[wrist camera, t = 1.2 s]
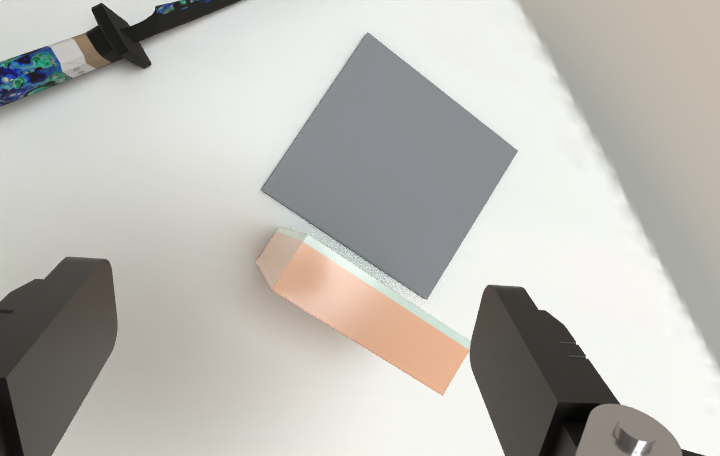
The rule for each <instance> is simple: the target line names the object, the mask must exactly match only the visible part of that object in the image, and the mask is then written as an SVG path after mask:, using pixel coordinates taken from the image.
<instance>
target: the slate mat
mask: <svg viewBox="0 0 720 456" xmlns="http://www.w3.org/2000/svg"><path fill="white" fill-rule="evenodd" d="M517 152H518V151H517V150H516V149H515V148H514V147H512V146H511V145H510V144H509V143H507V142H506V141H505V140H504V139H502V138H501V137H500V136H498V135H497V134H496V133H495V132H493V131H492V130H491V129H490V128H488V127H487V126H486V125H485V124H483V123H482V122H481V121H479V120H478V119H477V118H476V117H474V116H473V115H472V114H471V113H469V112H468V111H467V110H466V109H464V108H463V107H462V106H460V105H459V104H458V103H457V102H455V101H454V100H453V99H452V98H450V97H449V96H448V95H447V94H445V93H444V92H443V91H441V90H440V89H439V88H438V87H436V86H435V85H434V84H433V83H431V82H430V81H429V80H428V79H426V78H425V77H424V76H422V75H421V74H420V73H419V72H417V71H416V70H415V69H414V68H412V67H411V66H410V65H409V64H407V63H406V62H405V61H403V60H402V59H401V58H400V57H398V56H397V55H396V54H395V53H393V52H392V51H391V50H390V49H388V48H387V47H386V46H384V45H383V44H382V43H381V42H379V41H378V40H377V39H376V38H374V37H373V36H372V35H371V34H369V33H367V34H366V35H365V37H364V38H363V40H362V41H361V43H360V44H359V46H358V47H357V49H356V50H355V52H354V53H353V55H352V56H351V58H350V59H349V61H348V62H347V64H346V65H345V67H344V68H343V69H342V71H341V72H340V74H339V75H338V77H337V78H336V80H335V81H334V83H333V84H332V86H331V87H330V89H329V90H328V92H327V93H326V95H325V96H324V98H323V99H322V101H321V102H320V104H319V105H318V107H317V108H316V109H315V111H314V112H313V114H312V115H311V117H310V118H309V120H308V121H307V123H306V124H305V126H304V127H303V129H302V130H301V132H300V133H299V135H298V136H297V138H296V139H295V141H294V142H293V144H292V145H291V147H290V148H289V149H288V151H287V152H286V154H285V155H284V157H283V158H282V160H281V161H280V163H279V164H278V166H277V167H276V169H275V170H274V172H273V173H272V175H271V176H270V178H269V179H268V181H267V182H266V184H265V185H264V186H263V188H262V189H261V190H262V191H263V192H265V193H266V194H268V195H269V196H271V197H272V198H274V199H275V200H277V201H278V202H280V203H281V204H283V205H284V206H286V207H287V208H289V209H290V210H292V211H293V212H295V213H296V214H298V215H300V216H301V217H303V218H304V219H306V220H307V221H309V222H310V223H312V224H313V225H315V226H316V227H318V228H319V229H321V230H322V231H324V232H325V233H327V234H328V235H330V236H331V237H333V238H334V239H336V240H337V241H339V242H340V243H342V244H343V245H345V246H346V247H348V248H349V249H351V250H352V251H354V252H355V253H357V254H358V255H360V256H361V257H363V258H364V259H366V260H367V261H369V262H370V263H372V264H373V265H375V266H376V267H378V268H379V269H381V270H382V271H384V272H385V273H387V274H388V275H390V276H391V277H393V278H394V279H396V280H397V281H399V282H400V283H402V284H403V285H405V286H406V287H408V288H409V289H411V290H412V291H414V292H415V293H417V294H418V295H420V296H421V297H423V298H424V299H428V297H429V295H430V294H431V292H432V290H433V289H434V287H435V286H436V284H437V282H438V281H439V279H440V277H441V276H442V274H443V272H444V271H445V269H446V268H447V266H448V264H449V263H450V261H451V259H452V258H453V256H454V255H455V253H456V251H457V250H458V248H459V246H460V245H461V243H462V241H463V240H464V238H465V237H466V235H467V233H468V232H469V230H470V228H471V227H472V225H473V223H474V222H475V220H476V219H477V217H478V215H479V214H480V212H481V210H482V209H483V207H484V205H485V204H486V202H487V201H488V199H489V197H490V196H491V194H492V192H493V191H494V189H495V188H496V186H497V184H498V183H499V181H500V179H501V178H502V176H503V174H504V173H505V171H506V170H507V168H508V166H509V165H510V163H511V161H512V160H513V158H514V156H515V155H516V153H517Z"/></svg>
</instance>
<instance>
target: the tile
mask: <svg viewBox="0 0 720 456" xmlns="http://www.w3.org/2000/svg"><path fill="white" fill-rule="evenodd" d="M256 263H257V265H258V267H259V269H260V271H261V272H262V274H263V276H264V278H265V280H266V281H267V283H268V285H269V287H270V289H271V290H272V291H273V292H275V293H277V294H278V295H280V296H282V297H283V298H285V299H286V300H288V301H290V302H291V303H293V304H295V305H296V306H298V307H299V308H301V309H303V310H304V311H306V312H308V313H309V314H311V315H312V316H314V317H316V318H317V319H319V320H321V321H322V322H324V323H325V324H327V325H329V326H330V327H332V328H333V329H335V330H337V331H338V332H340V333H342V334H343V335H345V336H346V337H348V338H350V339H351V340H353V341H355V342H356V343H358V344H359V345H361V346H363V347H364V348H366V349H368V350H369V351H371V352H372V353H374V354H376V355H377V356H379V357H381V358H382V359H384V360H385V361H387V362H389V363H390V364H392V365H394V366H395V367H397V368H398V369H400V370H402V371H403V372H405V373H407V374H408V375H410V376H411V377H413V378H415V379H416V380H418V381H420V382H421V383H423V384H424V385H426V386H428V387H429V388H431V389H432V390H434V391H436V392H437V393H439V394H441V395H442V396H443V394H444V392H445V391H446V389H447V387H448V386H449V384H450V382H451V381H452V379H453V377H454V376H455V374H456V372H457V371H458V369H459V367H460V365H461V364H462V362H463V360H464V359H465V357H466V355H467V354H468V352H469V350H470V344H471V341H469V340H468V339H466V338H465V337H463V336H462V335H460V334H459V333H457V332H456V331H454V330H453V329H451V328H450V327H448V326H447V325H445V324H443V323H442V322H440V321H439V320H437V319H436V318H434V317H433V316H431V315H430V314H428V313H427V312H425V311H424V310H422V309H421V308H419V307H418V306H416V305H415V304H413V303H412V302H410V301H408V300H407V299H405V298H404V297H402V296H401V295H399V294H398V293H396V292H395V291H393V290H392V289H390V288H389V287H387V286H386V285H384V284H383V283H381V282H380V281H378V280H377V279H375V278H374V277H372V276H370V275H369V274H367V273H366V272H364V271H363V270H361V269H360V268H358V267H357V266H355V265H354V264H352V263H351V262H349V261H348V260H346V259H345V258H343V257H342V256H340V255H339V254H337V253H335V252H334V251H332V250H331V249H329V248H328V247H326V246H325V245H323V244H322V243H320V242H319V241H317V240H316V239H314V238H313V237H311V236H310V235H308V234H305V233H301V232H297V231H293V230H289V229H286V228H282V227H278V229H277V230H276V232H275V233H274V235H273V236H272V238H271V239H270V241H269V242H268V244H267V245H266V247H265V248H264V250H263V251H262V253H261V254H260V256H259V257H258V259H257V260H256Z"/></svg>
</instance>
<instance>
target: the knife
mask: <svg viewBox="0 0 720 456" xmlns="http://www.w3.org/2000/svg"><path fill="white" fill-rule="evenodd" d="M238 1H241V0H180V1H176V2H172V3H168V4H163V5H159V6H156V7H155V11H154V13H153V14H152V15H151V16H150V17H148V18H147V19H145V20H144V21H142V22H140V23H138V24H135V25H133V26H129V24H128V23H127V22H126V21H125V20H123V19H122V18H121V17H119V16H118V15H117V14H115V13H114V12H113V11H112V10H110V9H109V8H108V7H106V6H105V5H104V4H102V3H100V4H98V5H96V6H94V7H92V12H93V14H94V16H95V19H96V21H97V23H98V26H96V27H95V28H93V29H91V30H90V31H88V32H86V33H84V34H81V35H78V36H75V37H72V38H70V39H67V40H64V41H61V42H58V43H55V44H52V45H49V46H46V47H43V48H40V49H37V50H34V51H31V52H28V53H25V54H22V55H19V56H16V57H13V58H10V59H8V60H5V61H2V62H0V107H1V106H3V105H6V104H8V103H11V102H13V101H16V100H18V99H21V98H23V97H26V96H28V95H31V94H34V93H36V92H39V91H41V90H44V89H46V88H49V87H51V86H54V85H56V84H59V83H61V82H64V81H66V80H69V79H72V78H74V77H77V76H79V75H82V74H84V73H87V72H89V71H92V70H94V69H97V68H99V67H102V66H105V65H107V64H110V63H112V62H115V61H118V60H120V59H123V58H124V59H126V60H128V61H130V62H132V63H134V64H136V65H138V66H140V67H142V68H146V67H148V66H150V65H151V62H150V60H149V58H148V57H147V55H146V53H145V51H144V50H143V48H142V46H141V45H140V43H139V41H142V40H144V39H147V38H149V37H151V36H153V35H156V34H158V33H161V32H164V31H166V30H169V29H171V28H174V27H177V26H179V25H182V24H185V23H187V22H190V21H192V20H195V19H197V18H199V17H202V16H204V15H207V14H209V13H212V12H214V11H216V10H219V9H221V8H224V7H226V6H228V5H231V4H233V3H236V2H238Z"/></svg>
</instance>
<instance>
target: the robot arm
mask: <svg viewBox="0 0 720 456" xmlns="http://www.w3.org/2000/svg"><path fill="white" fill-rule="evenodd" d="M116 336H117V313H116V304H115V294H114V285H113V276H112V268H111V265H110V262H109V261H108V260H107V259H95V258H80V257H66V258H64V259H63V260H62V261H61V262H60V263H59V264H58V265H57V266H56V267H55V269H54V270H53V271H52V272H51V273H50V274H49V275H48V276H47V277H46V278H45V279H44V280H43V279H35V280H33V281H31V282H29V283H27V284H25V285H23V286H21V287H19V288H18V289H16V290H14V291H12V292H10V293H9V294H8V295H7V296H6V297H5V298H4V299H3V300H2V301H1V302H0V456H51V455H52V454H53V452H54V450H55V449H56V447H57V445H58V443H59V442H60V440H61V438H62V437H63V435H64V433H65V431H66V430H67V428H68V426H69V424H70V423H71V421H72V419H73V418H74V416H75V414H76V412H77V411H78V409H79V407H80V406H81V404H82V402H83V400H84V399H85V397H86V395H87V394H88V392H89V390H90V388H91V387H92V385H93V383H94V381H95V380H96V378H97V376H98V375H99V373H100V371H101V369H102V368H103V366H104V364H105V363H106V361H107V359H108V357H109V356H110V354H111V352H112V350H113V347H114V344H115V341H116ZM585 356H586V355H585V354H584V352H583V351H582V350H581V348H580V347H579V345H576V341H575V340H574V338H573V337H572V335H571V334H570V333H569V331H568V330H567V328H566V327H565V326H564V325H563V324H562V323H561V322H559V321H558V320H557V319H556V318H554V317H553V316H552V315H550V314H549V313H548V312H547V311H545V310H538V308H537V307H536V305H535V304H534V302H533V301H532V299H531V298H530V296H529V295H528V293H527V292H526V290H525V289H524V288H523V287H515V286H500V285H488V286H487V287H486V288H485V290H484V292H483V295H482V299H481V303H480V307H479V311H478V315H477V319H476V323H475V327H474V331H473V335H472V339H471V344H470V363H471V368H472V371H473V374H474V376H475V379H476V381H477V384H478V387H479V389H480V392H481V394H482V397H483V400H484V402H485V405H486V407H487V410H488V413H489V415H490V418H491V420H492V423H493V426H494V428H495V431H496V433H497V436H498V438H499V441H500V444H501V446H502V449H503V451H504V454H505V456H704V455H700V454H697V453H693V452H690V451H686V450H683V449H681V448H680V446H679V444H678V442H677V440H676V439H675V438H674V436H673V435H672V434H671V433H670V432H669V431H668V430H667V429H666V428H665V427H664V426H663V425H662V424H660V423H659V422H658V421H656V420H655V419H653V418H652V417H650V416H649V415H647V414H645V413H643V412H641V411H639V410H636V409H634V408H631V407H628V406H624V405H620V403H619V402H618V400H617V399H616V398H615V396H614V395H613V393H612V392H611V390H610V389H609V388H608V386H607V385H606V383H605V382H604V381H603V379H602V378H601V376H600V375H599V374H598V372H597V371H596V369H595V368H594V366H593V365H592V364H591V362H590V361H589V359H586V358H585Z"/></svg>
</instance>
